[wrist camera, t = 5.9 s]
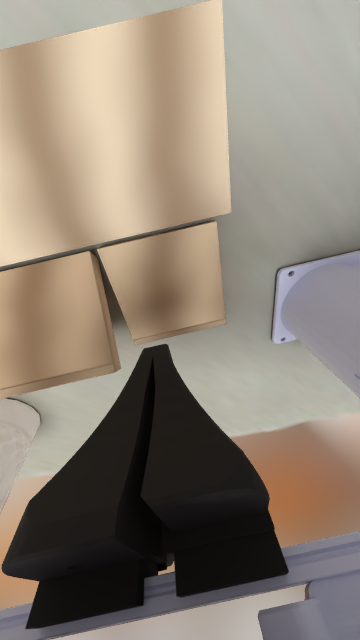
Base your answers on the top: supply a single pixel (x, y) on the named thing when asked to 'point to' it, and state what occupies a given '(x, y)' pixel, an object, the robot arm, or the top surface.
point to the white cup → (14, 441)
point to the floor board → (113, 132)
